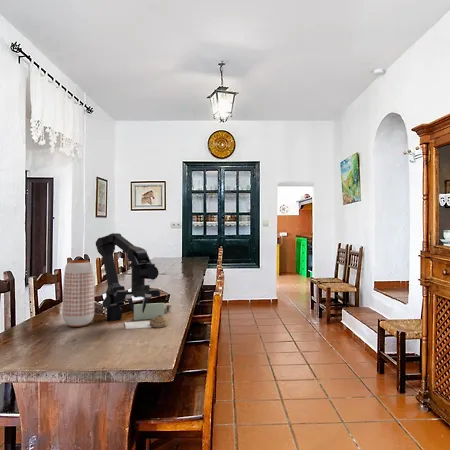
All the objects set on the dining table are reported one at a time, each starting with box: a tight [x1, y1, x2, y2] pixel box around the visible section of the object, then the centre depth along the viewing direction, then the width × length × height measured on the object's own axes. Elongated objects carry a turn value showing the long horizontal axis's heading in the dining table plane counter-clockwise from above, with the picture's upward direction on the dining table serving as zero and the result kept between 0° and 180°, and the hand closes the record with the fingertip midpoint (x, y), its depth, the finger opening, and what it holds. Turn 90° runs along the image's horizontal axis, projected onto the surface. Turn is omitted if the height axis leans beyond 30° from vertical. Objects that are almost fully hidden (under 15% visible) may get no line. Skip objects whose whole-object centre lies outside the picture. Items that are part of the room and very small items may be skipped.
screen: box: [133, 302, 165, 322], centre depth 182 cm, size 14×4×7 cm, turn 107°
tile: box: [124, 320, 153, 330], centre depth 170 cm, size 11×11×1 cm
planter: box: [61, 259, 96, 328], centre depth 172 cm, size 13×13×28 cm
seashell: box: [150, 315, 170, 328], centre depth 171 cm, size 8×6×8 cm
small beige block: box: [164, 302, 172, 314], centre depth 197 cm, size 4×5×4 cm
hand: (137, 313), depth 171 cm, fingers open, 4 cm apart
